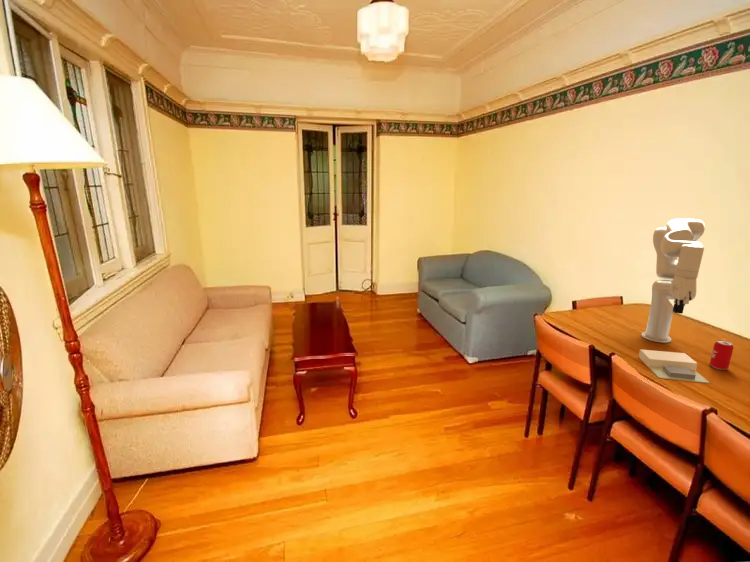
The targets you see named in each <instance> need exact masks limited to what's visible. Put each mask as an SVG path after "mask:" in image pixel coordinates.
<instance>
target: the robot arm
mask: <svg viewBox="0 0 750 562" xmlns="http://www.w3.org/2000/svg"><path fill="white" fill-rule="evenodd" d="M705 230H706V225H705V222H704V221H703V220H701V219H698V218H697V219H695V218H675V219H674V218H673V219H671V220H669V221H668V222H667V224H666V225H665V226H664V227H663V226H662V227H657V228H655V230H654V231H653V234H652V235H653V236H652V243H653V247H654V250H655V252H656V264H655V265H656V269H655V272H656V276H657V277H658V278H660V279H658V280H655V281H654V282H653V283H652V285H651V303H650V307H649V308H650V309H649V312H648V313H649V314H648V319H647V323H646V326H645V331H643V332H642V333H641V337H642V338H643V339H645V340H648V341H651V342H655V343H663V344H667V343H670V342H672V338H671V337H670V336H669V334H670V330H671V326H672V325H671V323H672V320H673V315H674V314H683V313H684V308H685V306H686V305H689V303H690V302H691V301H693V300H695V299H696V295H697V278H698V276H699V271H700V269H701V264H702V259H703V256H704V252H705V246H704V245H703V243H702V242H700V241H698V240H699V239H700V238H701V237H702V236H703V235H704V233H705ZM670 300H674V301H673V303H674V304H673V303H672V302H671V301H670Z"/></svg>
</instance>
